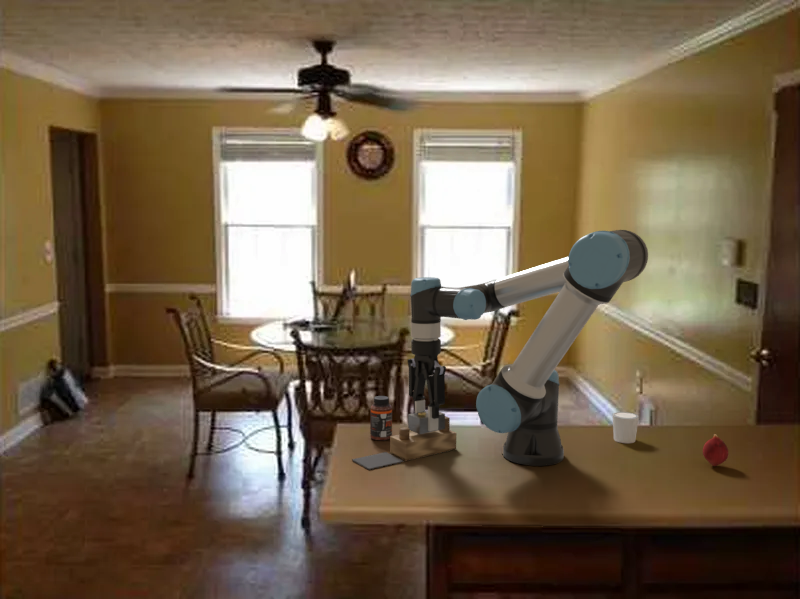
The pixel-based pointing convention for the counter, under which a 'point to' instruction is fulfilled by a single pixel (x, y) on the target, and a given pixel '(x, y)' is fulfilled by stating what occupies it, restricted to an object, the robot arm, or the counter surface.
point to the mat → (377, 460)
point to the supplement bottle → (381, 419)
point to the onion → (715, 451)
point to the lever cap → (423, 422)
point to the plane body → (422, 442)
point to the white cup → (625, 427)
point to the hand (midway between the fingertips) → (426, 427)
